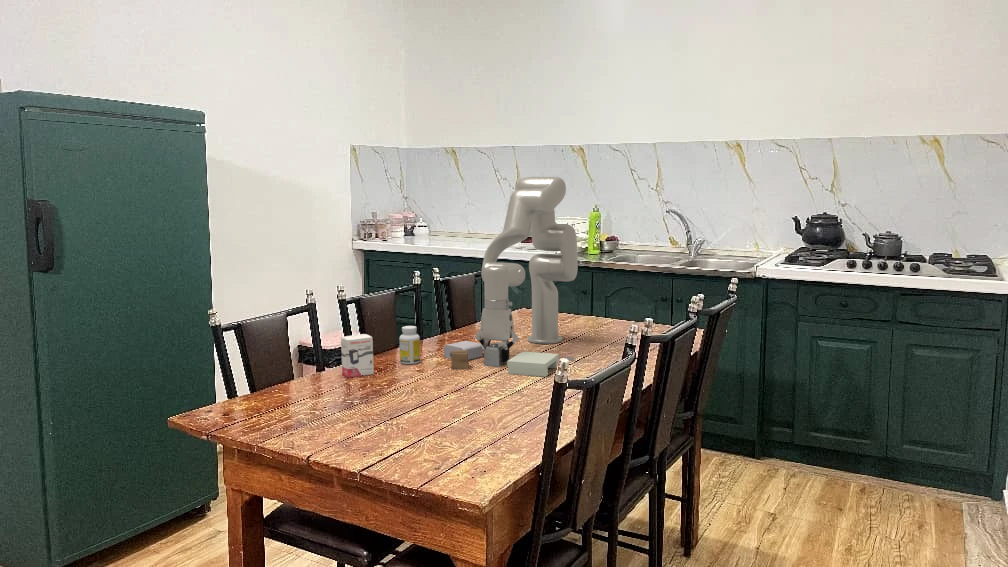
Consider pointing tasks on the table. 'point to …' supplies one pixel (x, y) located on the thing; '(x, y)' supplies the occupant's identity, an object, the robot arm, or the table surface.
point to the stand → (532, 363)
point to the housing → (494, 355)
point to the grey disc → (569, 358)
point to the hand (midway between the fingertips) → (496, 360)
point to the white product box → (357, 355)
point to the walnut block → (459, 359)
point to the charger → (472, 348)
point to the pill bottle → (409, 345)
